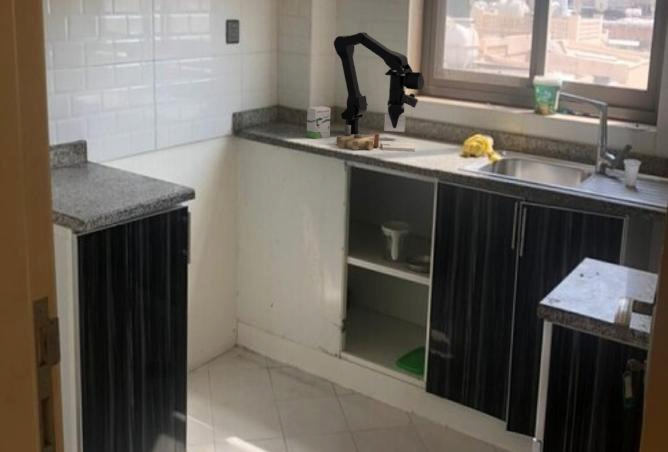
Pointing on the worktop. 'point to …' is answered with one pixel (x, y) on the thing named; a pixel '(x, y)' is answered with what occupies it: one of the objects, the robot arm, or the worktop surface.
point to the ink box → (318, 122)
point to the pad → (398, 146)
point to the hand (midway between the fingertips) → (394, 127)
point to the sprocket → (357, 140)
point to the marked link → (399, 126)
